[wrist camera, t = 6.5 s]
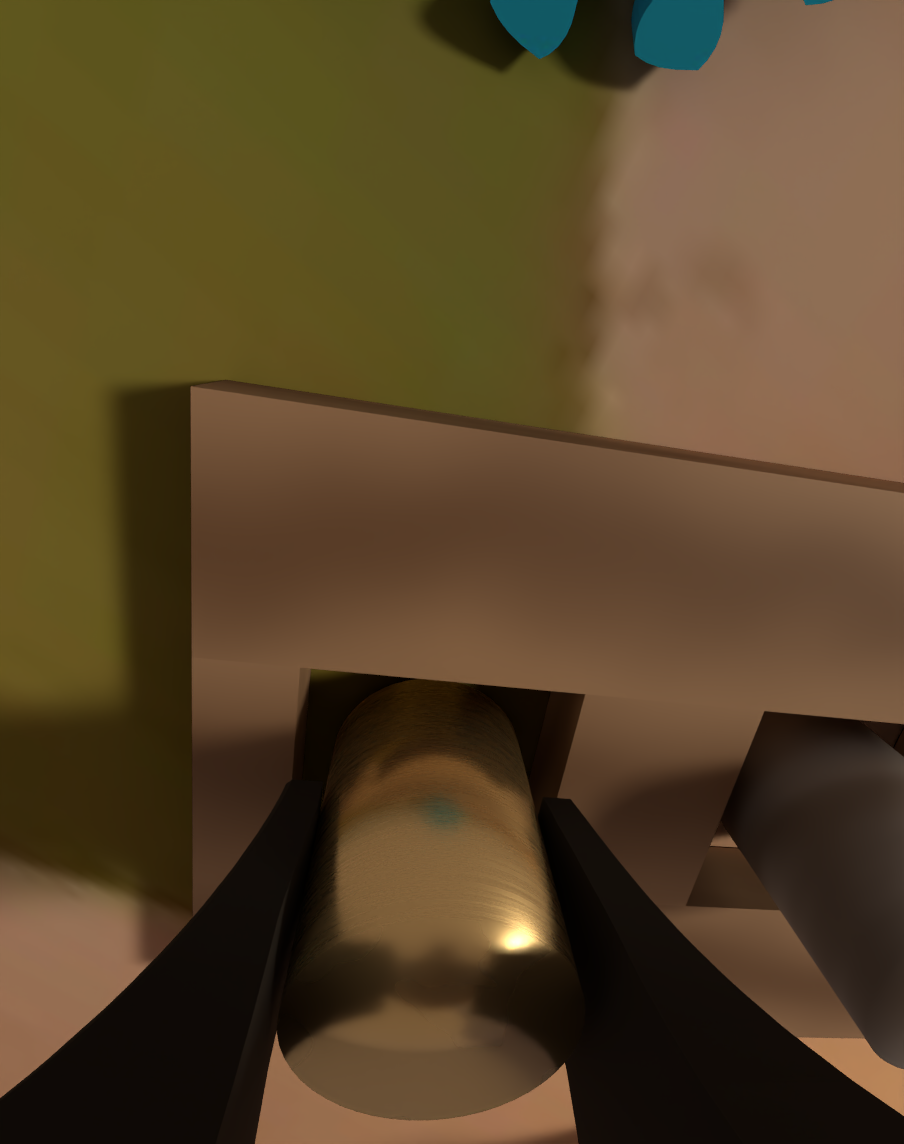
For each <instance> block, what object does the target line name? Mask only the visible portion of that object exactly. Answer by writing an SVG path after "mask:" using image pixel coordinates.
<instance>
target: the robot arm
mask: <svg viewBox="0 0 904 1144" xmlns="http://www.w3.org/2000/svg"><path fill="white" fill-rule="evenodd" d="M322 785H323V782H321V781H307V780H293V779H292V780H291V781H289V782H288V783H286V785H285V787H284V789H283V791H282V793H281V795H280V797H279V799H278V801H277V802H276V804H275V806H274V808H273V809H272V811H271V813H270V814H269V816H268V817H267V819H266V821H265V822H264V824H263V825H262V827H261V828H260V830H259V831H258V833H257V834H256V836H255V837H254V839H253V840H252V841H251V843H250V844H249V846H248V847H247V849H246V850H245V851H244V853H243V854H242V856H241V857H240V859H239V860H238V861H237V863H236V864H235V865H234V867H233V868H232V869H231V871H230V872H229V873H228V875H227V876H226V877H225V878H224V880H223V881H222V882H221V883H220V885H219V886H218V887H217V888H216V890H215V891H214V892H213V893H212V895H211V896H210V897H209V899H208V900H207V901H206V902H205V904H204V905H203V906H202V907H201V908H200V909H199V911H198V912H197V913H196V914H195V915H194V917H193V918H192V919H191V920H190V921H189V922H188V923H187V925H186V926H185V927H184V928H183V929H182V930H181V931H180V932H179V934H178V935H177V936H176V937H175V938H174V939H173V940H172V941H171V942H170V943H169V944H168V946H167V947H166V948H165V949H164V950H163V951H162V952H161V953H160V954H159V955H158V956H157V957H156V958H155V959H154V960H153V961H152V962H151V963H150V964H149V965H148V966H147V967H146V968H145V969H144V970H143V971H142V972H141V973H140V974H139V975H138V977H137V978H136V979H135V980H134V981H133V982H132V983H131V984H130V985H129V986H128V987H127V988H126V989H125V990H124V991H122V992H121V993H120V994H119V995H118V996H117V997H116V998H115V999H114V1000H113V1001H112V1002H111V1003H110V1004H109V1005H108V1006H107V1007H106V1008H105V1009H104V1010H103V1011H101V1012H100V1013H99V1014H98V1015H97V1016H96V1017H95V1018H94V1019H92V1020H91V1021H90V1022H89V1023H88V1024H87V1025H86V1026H85V1027H83V1028H82V1029H81V1030H80V1031H79V1032H78V1033H77V1034H76V1035H75V1036H73V1037H72V1038H71V1039H70V1040H69V1041H68V1042H67V1043H66V1044H64V1045H63V1046H62V1047H61V1048H60V1049H59V1050H58V1051H57V1052H55V1053H54V1054H53V1055H52V1056H51V1057H50V1058H49V1059H48V1060H46V1061H45V1062H44V1063H43V1064H42V1065H40V1066H39V1067H38V1068H37V1069H36V1070H35V1071H33V1072H32V1073H31V1074H30V1075H29V1076H27V1077H26V1078H25V1079H24V1080H22V1081H21V1082H20V1083H19V1084H17V1085H16V1086H15V1087H14V1088H12V1089H11V1090H10V1091H9V1092H7V1093H6V1094H5V1095H4V1096H2V1097H1V1098H0V1144H255V1139H256V1133H257V1128H258V1122H259V1116H260V1111H261V1105H262V1099H263V1094H264V1088H265V1083H266V1077H267V1071H268V1066H269V1062H270V1057H271V1053H272V1048H273V1044H274V1039H275V1035H276V1031H277V1018H278V1013H279V1009H280V1004H281V999H282V994H283V989H284V985H285V980H286V975H287V970H288V966H289V961H290V956H291V951H292V946H293V942H294V937H295V932H296V927H297V923H298V918H299V913H300V908H301V903H302V899H303V894H304V889H305V884H306V880H307V875H308V870H309V866H310V861H311V856H312V852H313V847H314V842H315V837H316V832H317V827H318V822H319V817H320V806H321V795H322ZM538 821H539V825H540V829H541V833H542V837H543V841H544V844H545V848H546V852H547V856H548V860H549V864H550V868H551V872H552V876H553V879H554V883H555V887H556V891H557V895H558V899H559V903H560V907H561V910H562V914H563V918H564V922H565V926H566V930H567V934H568V938H569V941H570V945H571V949H572V953H573V957H574V961H575V965H576V969H577V973H578V976H579V980H580V984H581V988H582V992H583V996H584V1002H585V1020H584V1026H583V1030H582V1033H581V1036H580V1039H579V1041H578V1043H577V1045H576V1047H575V1049H574V1050H573V1052H572V1053H571V1055H570V1056H569V1057H568V1059H567V1060H566V1062H565V1065H566V1069H567V1075H568V1081H569V1087H570V1093H571V1099H572V1105H573V1111H574V1117H575V1123H576V1130H577V1136H578V1142H579V1144H904V1116H903V1115H901V1114H900V1113H898V1112H897V1111H896V1110H894V1109H893V1108H891V1107H890V1106H888V1105H887V1104H885V1103H884V1102H883V1101H881V1100H880V1099H878V1098H877V1097H875V1096H874V1095H872V1094H871V1093H870V1092H868V1091H867V1090H865V1089H864V1088H862V1087H861V1086H859V1085H858V1084H857V1083H855V1082H854V1081H852V1080H851V1079H850V1078H848V1077H847V1076H846V1075H844V1074H843V1073H842V1072H840V1071H839V1070H838V1069H837V1068H835V1067H834V1066H833V1065H831V1064H830V1063H829V1062H827V1061H826V1060H825V1059H823V1058H822V1057H821V1056H820V1055H818V1054H817V1053H816V1052H814V1051H813V1050H812V1049H810V1048H809V1047H808V1046H806V1045H805V1044H804V1043H803V1042H802V1041H800V1040H799V1039H798V1038H797V1037H795V1036H794V1035H793V1034H792V1033H790V1032H789V1031H788V1030H787V1029H785V1028H784V1027H783V1026H782V1025H781V1024H779V1023H778V1022H777V1021H776V1020H775V1019H773V1018H772V1017H771V1016H770V1015H769V1014H768V1013H766V1012H765V1011H764V1010H763V1009H762V1008H761V1007H760V1006H758V1005H757V1004H756V1003H755V1002H754V1001H753V1000H751V999H750V998H749V997H748V996H747V995H746V994H744V993H743V992H742V991H741V990H740V989H739V988H738V987H737V986H736V985H735V984H733V983H732V982H731V981H730V980H729V979H728V978H727V977H726V976H725V975H724V974H723V973H722V972H721V971H719V970H718V969H717V968H716V967H715V966H714V965H713V964H712V963H711V962H710V961H709V960H708V959H707V958H706V957H705V956H704V955H703V954H702V953H701V952H700V951H699V950H698V949H697V948H696V947H695V946H694V945H693V944H692V943H691V942H690V941H689V940H688V939H687V938H686V937H685V936H684V935H683V934H682V933H681V932H680V931H679V930H678V929H677V928H676V926H675V925H674V924H673V923H672V922H671V921H670V920H669V919H668V918H667V917H666V915H665V914H664V913H663V912H662V911H661V910H660V909H659V908H658V907H657V906H656V904H655V903H654V902H653V901H652V900H651V899H650V898H649V897H648V895H647V894H646V893H645V892H644V891H643V890H642V888H641V887H640V886H639V885H638V884H637V882H636V881H635V880H634V879H633V878H632V876H631V875H630V874H629V873H628V872H627V870H626V869H625V868H624V867H623V866H622V864H621V863H620V862H619V861H618V859H617V858H616V857H615V856H614V854H613V853H612V852H611V850H610V849H609V848H608V847H607V845H606V844H605V843H604V841H603V840H602V839H601V838H600V836H599V835H598V834H597V832H596V831H595V830H594V829H593V827H592V826H591V825H590V823H589V822H588V821H587V819H586V818H585V817H584V816H583V814H582V813H581V812H580V810H579V809H578V808H577V806H576V805H575V804H574V803H573V801H572V800H571V799H564V798H550V797H543V798H542V802H541V806H540V810H539V814H538Z"/></svg>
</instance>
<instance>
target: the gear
mask: <svg viewBox="0 0 904 1144" xmlns="http://www.w3.org/2000/svg"><path fill="white" fill-rule="evenodd" d="M577 1H578V0H490V3H491V5H492V7H493V9H494V11H495V13H496V15H497V17H498V19H499V20H500V22H501V23H502V24H503V26H504V27H505V28H506V30H507V31H508V32H509V33H510V34H511V35H512V36H513V37H514V38H515V39H516V40H517V41H518V42H519V43H520V44H521V45H522V46H523V47H525V48H526V49H527V50H529V51H530V52H531V53H532V54H534V55H535V56H536V57H537V58H539V59H541V58H543V57H545V56H547V55H549V54H550V53H551V52H552V51H554V50H555V49H556V48H557V47H558V46H559V45H560V43H561V42H562V41H563V39H564V38H565V37H566V35H567V33H568V30H569V28H570V26H571V24H572V20H573V17H574V13H575V9H576V5H577ZM829 1H833V0H804V2H805V5H813V4H823V3H826V2H829ZM723 17H724V0H635V2H634V5H633V10H632V17H631V22H632V35H633V44H634V53H635V56H637V57H638V58H640V59H641V60H643V61H645V62H646V63H649V64H652V65H654V66H657V67H661V68H668V69H675V70H699V69H700V68H701V66H702V65H703V64H704V63H705V62H706V61H707V60H708V58H709V57H710V55H711V54H712V52H713V51H714V49H715V47H716V45H717V42H718V40H719V38H720V35H721V31H722V26H723Z"/></svg>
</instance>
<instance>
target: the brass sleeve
mask: <svg viewBox="0 0 904 1144" xmlns="http://www.w3.org/2000/svg"><path fill="white" fill-rule="evenodd" d="M584 1020H585V1002H584V996H583V992H582V988H581V984H580V980H579V976H578V973H577V969H576V965H575V961H574V957H573V953H572V949H571V945H570V941H569V938H568V934H567V930H566V926H565V922H564V918H563V914H562V910H561V907H560V903H559V899H558V895H557V891H556V887H555V883H554V879H553V876H552V872H551V868H550V864H549V860H548V856H547V852H546V848H545V844H544V841H543V837H542V833H541V829H540V825H539V821H538V817H537V813H536V810H535V806H534V802H533V798H532V794H531V790H530V786H529V782H528V778H527V775H526V771H525V767H524V763H523V759H522V755H521V751H520V747H519V744H518V740H517V736H516V733H515V730H514V728H513V725H512V723H511V721H510V720H509V718H508V717H507V715H506V714H505V712H504V711H503V710H502V709H501V708H500V707H499V706H498V704H497V703H495V702H494V701H493V700H492V699H490V698H489V697H488V696H486V695H485V694H483V693H482V692H480V691H478V690H476V689H474V688H472V687H470V686H467V685H464V684H461V683H458V682H449V681H439V680H428V679H415V680H409V681H404V682H400V683H396V684H393V685H390V686H388V687H385V688H383V689H381V690H379V691H377V692H375V693H373V694H372V695H370V696H369V697H367V698H366V699H364V700H363V701H362V702H361V703H359V704H358V705H357V706H356V707H355V708H354V709H353V710H352V711H351V713H350V714H349V715H348V716H347V718H346V719H345V721H344V722H343V724H342V726H341V728H340V730H339V732H338V735H337V737H336V741H335V746H334V751H333V755H332V760H331V765H330V770H329V775H328V779H327V784H326V789H325V794H324V798H323V803H322V808H321V813H320V818H319V822H318V827H317V832H316V837H315V842H314V847H313V852H312V856H311V861H310V866H309V870H308V875H307V880H306V884H305V889H304V894H303V899H302V903H301V908H300V913H299V918H298V923H297V927H296V932H295V937H294V942H293V946H292V951H291V956H290V961H289V966H288V970H287V975H286V980H285V985H284V989H283V994H282V999H281V1004H280V1009H279V1013H278V1018H277V1035H278V1041H279V1046H280V1049H281V1051H282V1054H283V1056H284V1058H285V1060H286V1062H287V1063H288V1065H289V1066H290V1068H291V1070H292V1071H293V1072H294V1073H295V1074H296V1075H297V1076H298V1078H299V1079H300V1080H301V1081H302V1082H303V1083H305V1084H306V1085H307V1086H308V1087H309V1088H311V1089H312V1090H313V1091H315V1092H316V1093H318V1094H319V1095H321V1096H323V1097H324V1098H326V1099H328V1100H330V1101H332V1102H334V1103H336V1104H338V1105H340V1106H343V1107H345V1108H348V1109H351V1110H354V1111H356V1112H360V1113H364V1114H368V1115H372V1116H377V1117H383V1118H389V1119H400V1120H438V1119H448V1118H455V1117H461V1116H466V1115H471V1114H475V1113H479V1112H483V1111H486V1110H489V1109H492V1108H495V1107H498V1106H501V1105H503V1104H505V1103H508V1102H510V1101H513V1100H515V1099H517V1098H519V1097H521V1096H522V1095H524V1094H526V1093H528V1092H530V1091H531V1090H533V1089H534V1088H536V1087H537V1086H539V1085H540V1084H542V1083H543V1082H545V1081H546V1080H547V1079H548V1078H549V1077H551V1076H552V1075H553V1074H554V1073H555V1072H556V1071H557V1070H558V1069H559V1068H560V1067H561V1066H562V1065H563V1064H564V1063H565V1062H566V1060H567V1059H568V1057H569V1056H570V1055H571V1053H572V1052H573V1050H574V1049H575V1047H576V1045H577V1043H578V1041H579V1039H580V1036H581V1033H582V1030H583V1026H584Z"/></svg>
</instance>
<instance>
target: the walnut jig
mask: <svg viewBox="0 0 904 1144" xmlns="http://www.w3.org/2000/svg"><path fill="white" fill-rule="evenodd" d="M191 592H192V833H193V917H194V915H195V914H196V913H197V912H198V911H199V909H200V908H201V907H202V906H203V905H204V904H205V902H206V901H207V900H208V899H209V897H210V896H211V895H212V893H213V892H214V891H215V890H216V888H217V887H218V886H219V885H220V883H221V882H222V881H223V880H224V878H225V877H226V876H227V875H228V873H229V872H230V871H231V869H232V868H233V867H234V865H235V864H236V863H237V861H238V860H239V859H240V857H241V856H242V854H243V853H244V851H245V850H246V849H247V847H248V846H249V844H250V843H251V841H252V840H253V839H254V837H255V836H256V834H257V833H258V831H259V830H260V828H261V827H262V825H263V824H264V822H265V821H266V819H267V817H268V816H269V814H270V813H271V811H272V809H273V808H274V806H275V804H276V802H277V801H278V799H279V797H280V795H281V793H282V791H283V789H284V787H285V785H286V783H288V782H289V781H291V780H292V779H293V780H302V777H303V764H304V752H305V739H306V726H307V713H308V701H309V688H310V675H311V669H321V670H332V671H343V672H353V673H364V674H375V675H385V676H396V677H407V678H417V679H428V680H439V681H449V682H460V683H471V684H481V685H492V686H503V687H513V688H524V689H535V690H545V691H551V693H550V697H549V701H548V705H547V709H546V713H545V717H544V721H543V725H542V729H541V733H540V737H539V741H538V745H537V749H536V753H535V757H534V761H533V765H532V769H531V773H530V777H529V781H528V782H529V786H530V790H531V794H532V798H533V802H534V806H535V810H536V813H537V817H538V814H539V810H540V806H541V802H542V798H543V797H550V798H564V799H571V800H572V801H573V803H574V804H575V805H576V806H577V808H578V809H579V810H580V812H581V813H582V814H583V816H584V817H585V818H586V819H587V821H588V822H589V823H590V825H591V826H592V827H593V829H594V830H595V831H596V832H597V834H598V835H599V836H600V838H601V839H602V840H603V841H604V843H605V844H606V845H607V847H608V848H609V849H610V850H611V852H612V853H613V854H614V856H615V857H616V858H617V859H618V861H619V862H620V863H621V864H622V866H623V867H624V868H625V869H626V870H627V872H628V873H629V874H630V875H631V876H632V878H633V879H634V880H635V881H636V882H637V884H638V885H639V886H640V887H641V888H642V890H643V891H644V892H645V893H646V894H647V895H648V897H649V898H650V899H651V900H652V901H653V902H654V903H655V904H656V906H657V907H658V908H659V909H660V910H661V911H662V912H663V913H664V914H665V915H666V917H667V918H668V919H669V920H670V921H671V922H672V923H673V924H674V925H675V926H676V928H677V929H678V930H679V931H680V932H681V933H682V934H683V935H684V936H685V937H686V938H687V939H688V940H689V941H690V942H691V943H692V944H693V945H694V946H695V947H696V948H697V949H698V950H699V951H700V952H701V953H702V954H703V955H704V956H705V957H706V958H707V959H708V960H709V961H710V962H711V963H712V964H713V965H714V966H715V967H716V968H717V969H718V970H719V971H721V972H722V973H723V974H724V975H725V976H726V977H727V978H728V979H729V980H730V981H731V982H732V983H733V984H735V985H736V986H737V987H738V988H739V989H740V990H741V991H742V992H743V993H744V994H746V995H747V996H748V997H749V998H750V999H751V1000H753V1001H754V1002H755V1003H756V1004H757V1005H758V1006H760V1007H761V1008H762V1009H763V1010H764V1011H765V1012H766V1013H768V1014H769V1015H770V1016H771V1017H772V1018H773V1019H775V1020H776V1021H777V1022H778V1023H779V1024H781V1025H782V1026H783V1027H784V1028H785V1029H787V1030H788V1031H789V1032H790V1033H792V1034H793V1035H794V1036H795V1037H809V1038H865V1039H866V1040H867V1042H868V1043H869V1045H870V1046H871V1048H872V1049H873V1051H874V1052H875V1053H876V1054H877V1055H878V1056H879V1057H880V1058H882V1059H883V1060H884V1061H886V1062H887V1063H889V1064H891V1065H893V1066H896V1067H898V1068H901V1069H904V730H903V732H902V733H901V735H900V737H899V739H898V741H897V743H896V745H895V747H894V749H893V748H892V747H891V746H890V745H888V744H887V743H886V742H885V741H884V740H882V739H881V738H880V737H879V736H877V735H876V734H875V733H874V732H873V731H871V730H870V729H869V728H868V727H866V726H865V725H864V724H863V723H862V722H860V721H859V720H866V721H876V722H887V723H898V724H904V483H900V482H893V481H887V480H880V479H874V478H867V477H861V476H854V475H847V474H841V473H834V472H828V471H821V470H815V469H808V468H801V467H795V466H788V465H782V464H775V463H769V462H762V461H755V460H749V459H742V458H736V457H729V456H723V455H716V454H709V453H703V452H696V451H690V450H683V449H677V448H670V447H663V446H657V445H650V444H644V443H637V442H631V441H624V440H617V439H611V438H604V437H598V436H591V435H585V434H578V433H571V432H565V431H558V430H552V429H545V428H539V427H532V426H525V425H519V424H512V423H506V422H499V421H493V420H486V419H479V418H473V417H466V416H460V415H453V414H447V413H440V412H433V411H427V410H420V409H414V408H407V407H401V406H394V405H387V404H381V403H374V402H368V401H361V400H355V399H348V398H341V397H335V396H328V395H322V394H315V393H309V392H302V391H295V390H289V389H282V388H276V387H269V386H263V385H256V384H249V383H243V382H236V381H230V380H223V381H217V382H212V383H206V384H201V385H195V386H191ZM720 821H721V822H722V824H723V826H724V827H725V829H726V830H727V832H728V833H729V835H730V836H731V838H732V839H733V841H734V842H735V844H736V845H737V847H738V848H739V849H738V848H721V847H710V844H711V842H712V839H713V837H714V834H715V832H716V829H717V827H718V825H719V822H720Z"/></svg>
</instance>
